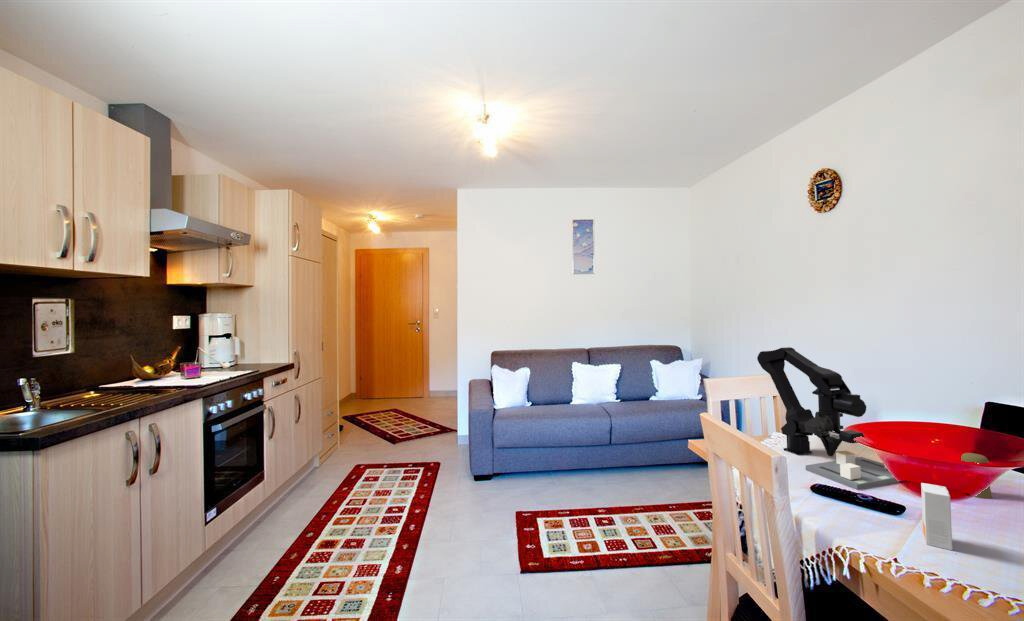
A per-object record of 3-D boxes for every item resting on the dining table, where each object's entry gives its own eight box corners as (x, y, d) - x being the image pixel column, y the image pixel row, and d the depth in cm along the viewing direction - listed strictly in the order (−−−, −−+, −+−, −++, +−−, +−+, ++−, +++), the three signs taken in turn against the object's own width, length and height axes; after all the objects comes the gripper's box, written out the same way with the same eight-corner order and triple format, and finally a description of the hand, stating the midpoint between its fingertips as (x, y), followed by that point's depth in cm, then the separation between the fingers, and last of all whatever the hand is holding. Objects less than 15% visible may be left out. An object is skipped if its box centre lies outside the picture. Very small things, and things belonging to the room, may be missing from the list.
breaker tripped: (836, 463, 137) (836, 451, 137) (845, 461, 138) (845, 450, 138) (845, 466, 134) (845, 454, 134) (855, 464, 135) (854, 453, 135)
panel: (805, 469, 137) (805, 465, 137) (860, 460, 143) (860, 456, 143) (857, 489, 121) (856, 484, 121) (916, 478, 127) (916, 473, 127)
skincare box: (922, 533, 98) (920, 482, 98) (948, 539, 95) (946, 486, 95) (925, 544, 93) (923, 491, 93) (953, 551, 91) (951, 496, 91)
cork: (995, 500, 112) (994, 459, 112) (962, 495, 116) (961, 455, 116) (988, 492, 117) (987, 453, 117) (957, 487, 121) (956, 449, 121)
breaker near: (840, 476, 127) (840, 464, 127) (850, 474, 128) (850, 462, 128) (850, 479, 124) (850, 468, 124) (860, 478, 125) (860, 466, 125)
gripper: (785, 406, 148) (786, 450, 148) (838, 418, 130) (840, 469, 130) (810, 403, 151) (811, 446, 151) (865, 415, 133) (867, 464, 133)
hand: (830, 456), depth 141 cm, fingers closed
